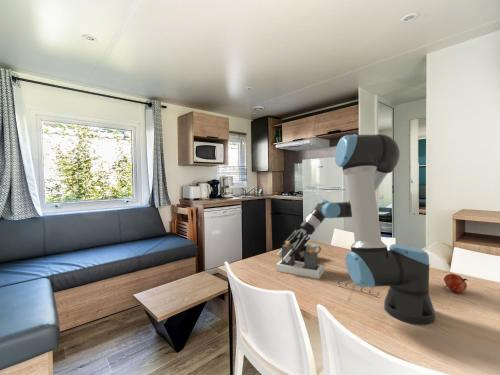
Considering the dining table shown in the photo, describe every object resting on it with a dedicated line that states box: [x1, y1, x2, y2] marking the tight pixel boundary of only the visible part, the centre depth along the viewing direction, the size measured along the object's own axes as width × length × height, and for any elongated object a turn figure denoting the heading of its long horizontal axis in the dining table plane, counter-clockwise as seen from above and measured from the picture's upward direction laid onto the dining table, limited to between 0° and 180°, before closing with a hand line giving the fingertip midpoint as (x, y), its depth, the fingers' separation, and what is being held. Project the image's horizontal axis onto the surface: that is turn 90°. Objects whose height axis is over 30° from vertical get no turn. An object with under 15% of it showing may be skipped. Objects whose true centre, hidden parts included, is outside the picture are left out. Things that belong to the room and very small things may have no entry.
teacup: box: [306, 243, 322, 255], centre depth 148 cm, size 14×11×8 cm
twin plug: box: [304, 249, 319, 270], centre depth 124 cm, size 5×5×12 cm
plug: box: [281, 240, 295, 266], centre depth 130 cm, size 5×5×12 cm
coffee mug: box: [292, 241, 308, 262], centre depth 144 cm, size 12×9×10 cm
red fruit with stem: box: [443, 273, 468, 294], centre depth 104 cm, size 7×7×10 cm
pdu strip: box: [275, 259, 325, 280], centre depth 128 cm, size 9×22×4 cm, turn 60°
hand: (281, 258), depth 130 cm, fingers closed on plug, 7 cm apart
